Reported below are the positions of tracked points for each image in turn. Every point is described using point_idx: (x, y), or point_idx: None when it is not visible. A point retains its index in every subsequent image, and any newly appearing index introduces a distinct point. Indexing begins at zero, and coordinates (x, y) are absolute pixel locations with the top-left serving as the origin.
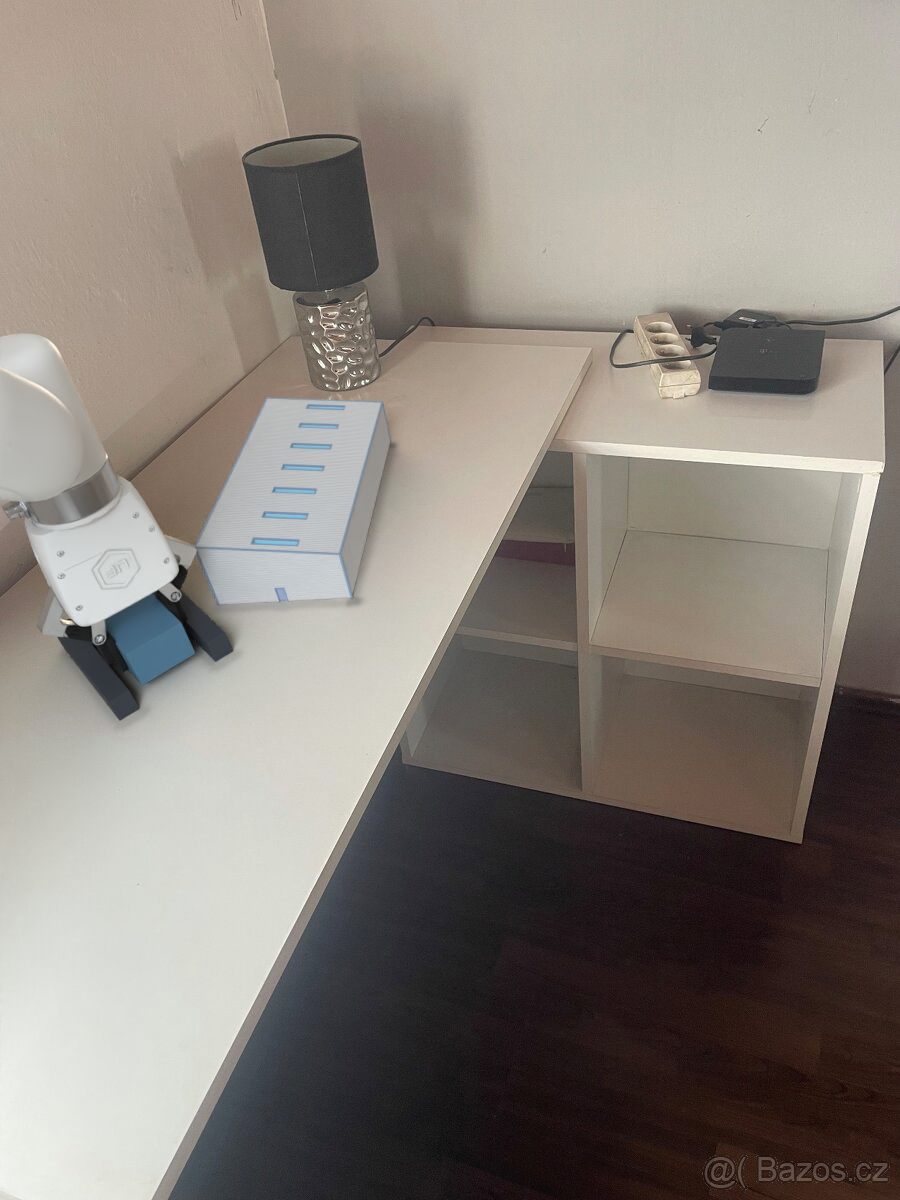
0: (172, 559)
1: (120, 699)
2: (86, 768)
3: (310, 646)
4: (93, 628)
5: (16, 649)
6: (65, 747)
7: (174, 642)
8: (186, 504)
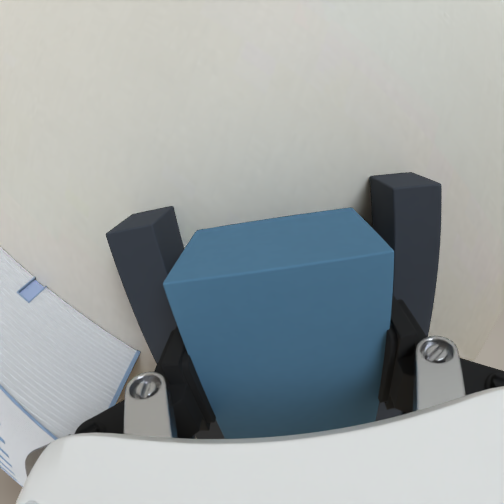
0: (22, 495)
1: (414, 183)
2: (482, 105)
3: (21, 140)
4: (457, 386)
5: None
6: (492, 184)
7: (222, 251)
8: None
